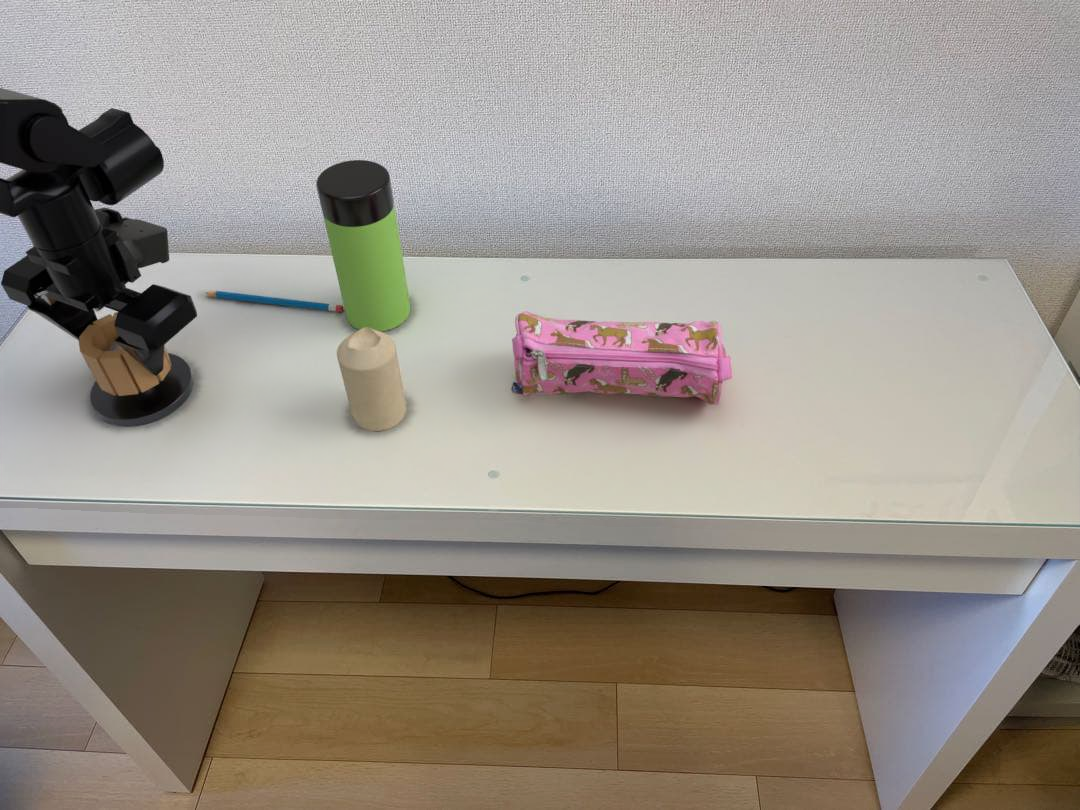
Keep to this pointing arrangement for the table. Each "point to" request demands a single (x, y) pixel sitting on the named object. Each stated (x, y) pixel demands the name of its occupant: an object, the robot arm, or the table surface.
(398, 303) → the tumbler
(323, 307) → the pencil
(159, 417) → the stand
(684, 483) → the table surface
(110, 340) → the wooden segmented ring
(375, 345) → the candle
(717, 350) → the pencil case
